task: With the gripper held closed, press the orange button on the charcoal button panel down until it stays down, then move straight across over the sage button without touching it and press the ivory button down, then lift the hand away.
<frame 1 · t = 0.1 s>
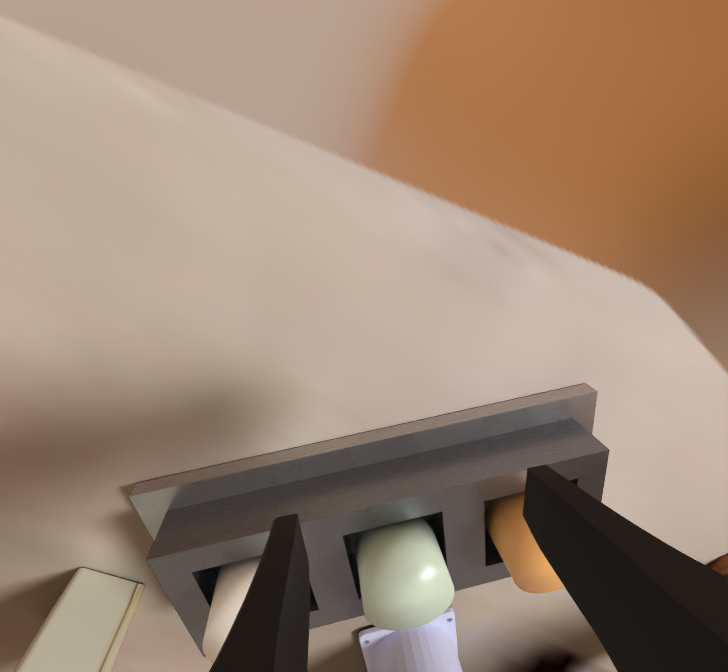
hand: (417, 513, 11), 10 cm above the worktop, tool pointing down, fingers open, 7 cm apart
skincare box: (96, 598, 24), on the worktop
sage button: (401, 569, 20), point 5 cm above the worktop, slide at 0.0 cm
orange button: (536, 534, 21), point 5 cm above the worktop, slide at 0.0 cm
ivory button: (257, 605, 19), point 5 cm above the worktop, slide at 0.0 cm
button panel: (384, 501, 24), on the worktop
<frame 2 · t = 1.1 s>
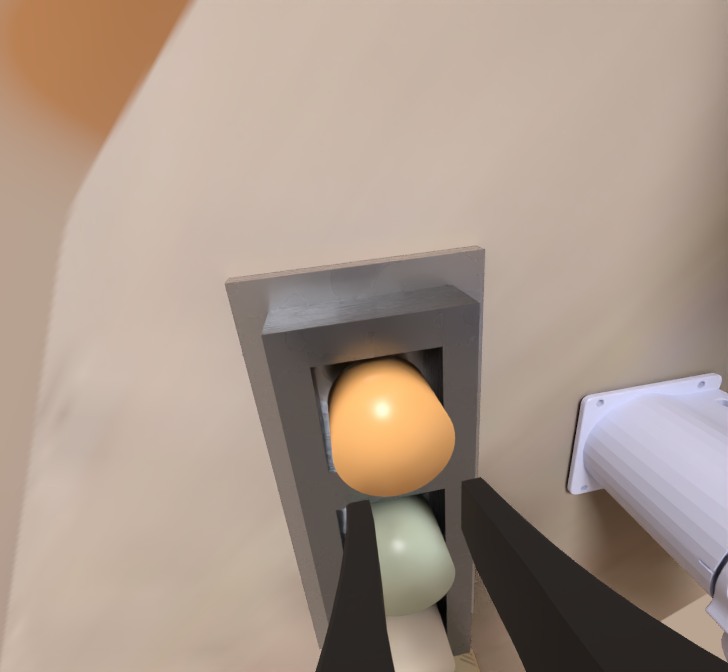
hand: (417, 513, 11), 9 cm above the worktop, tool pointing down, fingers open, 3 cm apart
skincare box: (430, 649, 31), on the worktop
sage button: (397, 550, 18), point 5 cm above the worktop, slide at 0.0 cm
orange button: (386, 422, 15), point 5 cm above the worktop, slide at 0.0 cm
ivory button: (406, 640, 22), point 5 cm above the worktop, slide at 0.0 cm
button panel: (380, 481, 23), on the worktop
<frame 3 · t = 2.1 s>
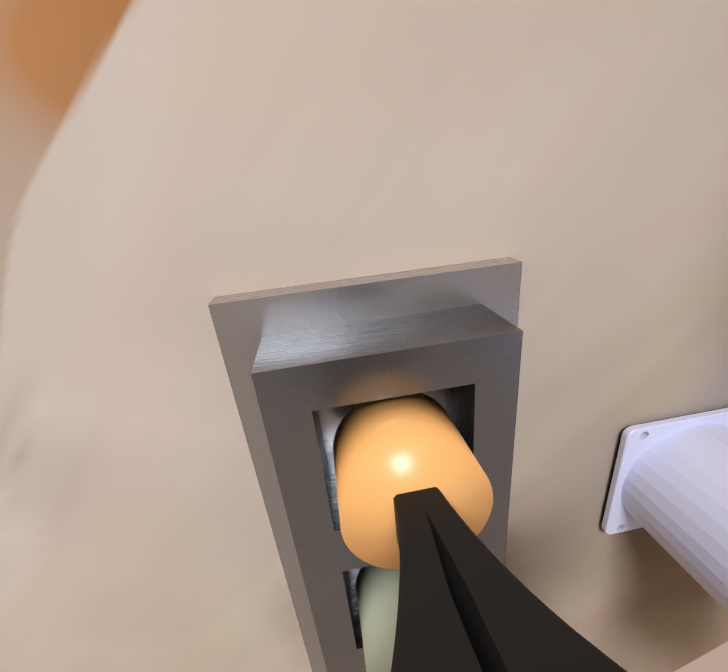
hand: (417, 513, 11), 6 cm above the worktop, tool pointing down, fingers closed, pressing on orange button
sage button: (415, 616, 16), point 5 cm above the worktop, slide at 0.0 cm
orange button: (404, 474, 13), point 5 cm above the worktop, slide at 0.1 cm, touching gripper
button panel: (392, 523, 20), on the worktop
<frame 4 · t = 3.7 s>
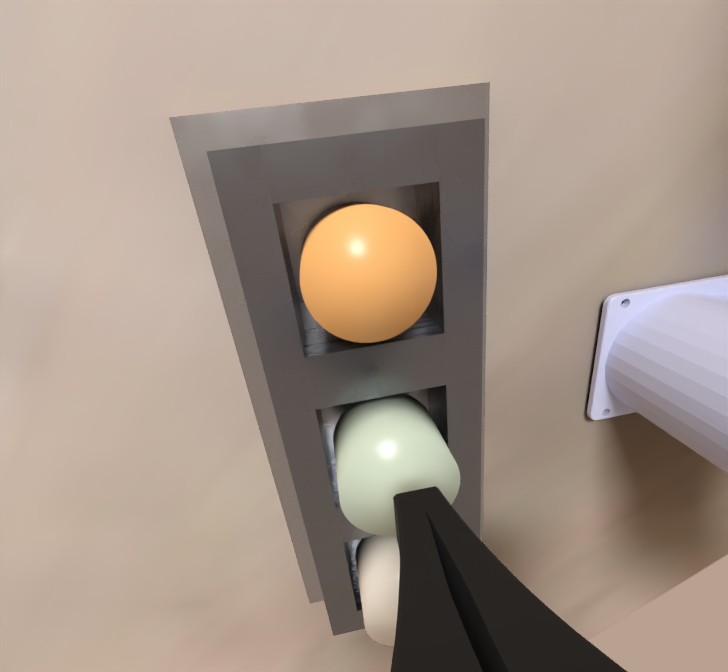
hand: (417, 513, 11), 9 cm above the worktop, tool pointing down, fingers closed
sage button: (391, 460, 16), point 5 cm above the worktop, slide at 0.0 cm
orange button: (362, 268, 14), point 3 cm above the worktop, slide at 1.8 cm
ivory button: (405, 579, 19), point 5 cm above the worktop, slide at 0.0 cm
button panel: (372, 401, 20), on the worktop
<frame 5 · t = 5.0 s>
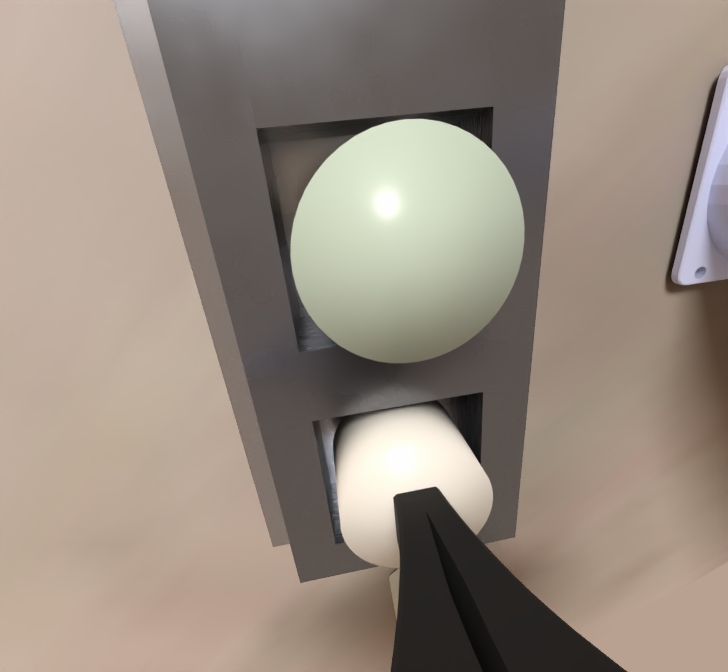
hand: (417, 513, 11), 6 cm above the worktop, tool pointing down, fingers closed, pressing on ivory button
skincare box: (443, 568, 22), on the worktop
sage button: (393, 244, 9), point 5 cm above the worktop, slide at 0.0 cm
ivory button: (404, 473, 13), point 4 cm above the worktop, slide at 0.7 cm, touching gripper
button panel: (364, 225, 13), on the worktop
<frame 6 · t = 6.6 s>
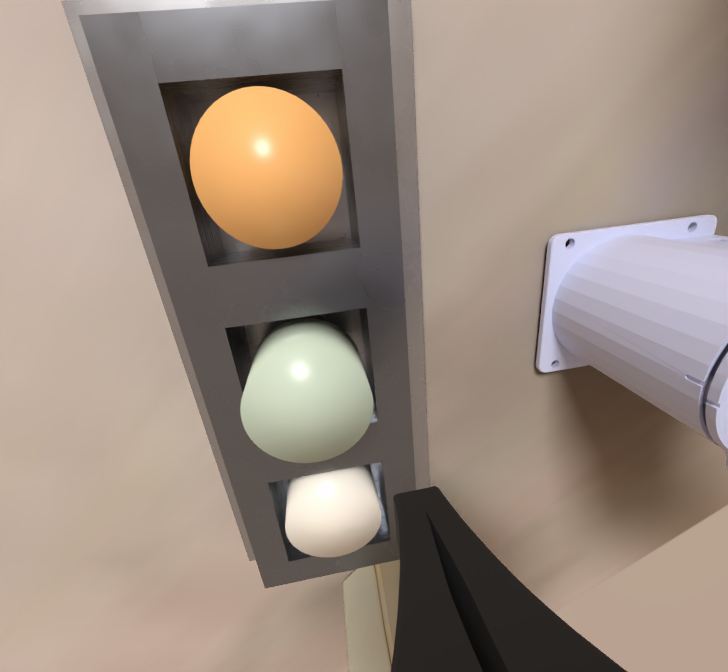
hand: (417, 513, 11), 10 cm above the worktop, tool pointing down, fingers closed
skincare box: (386, 575, 27), on the worktop
sage button: (308, 387, 15), point 5 cm above the worktop, slide at 0.0 cm
orange button: (273, 175, 13), point 3 cm above the worktop, slide at 1.8 cm
ivory button: (332, 496, 20), point 3 cm above the worktop, slide at 1.8 cm
button panel: (308, 342, 19), on the worktop
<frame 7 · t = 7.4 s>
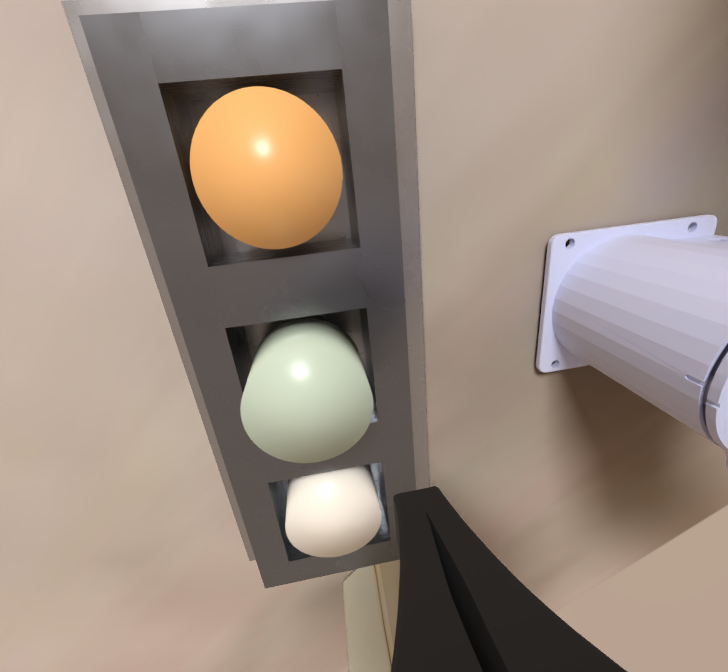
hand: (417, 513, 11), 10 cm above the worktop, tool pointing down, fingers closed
skincare box: (386, 575, 27), on the worktop
sage button: (308, 387, 15), point 5 cm above the worktop, slide at 0.0 cm
orange button: (273, 175, 13), point 3 cm above the worktop, slide at 1.8 cm
ivory button: (332, 496, 20), point 3 cm above the worktop, slide at 1.8 cm
button panel: (308, 342, 19), on the worktop
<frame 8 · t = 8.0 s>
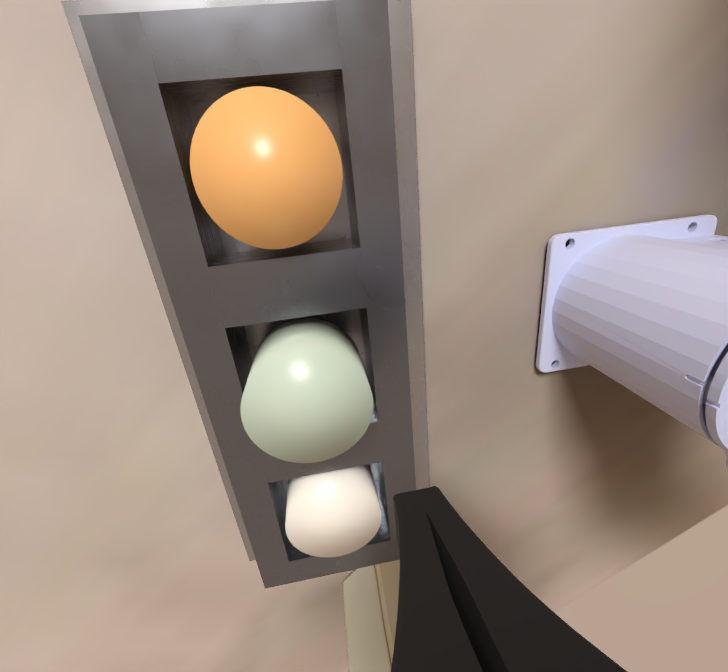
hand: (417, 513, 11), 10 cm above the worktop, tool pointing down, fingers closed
skincare box: (386, 575, 27), on the worktop
sage button: (308, 387, 15), point 5 cm above the worktop, slide at 0.0 cm
orange button: (273, 175, 13), point 3 cm above the worktop, slide at 1.8 cm
ivory button: (332, 496, 20), point 3 cm above the worktop, slide at 1.8 cm
button panel: (308, 342, 19), on the worktop
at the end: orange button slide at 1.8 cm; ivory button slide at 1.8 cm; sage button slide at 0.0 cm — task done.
